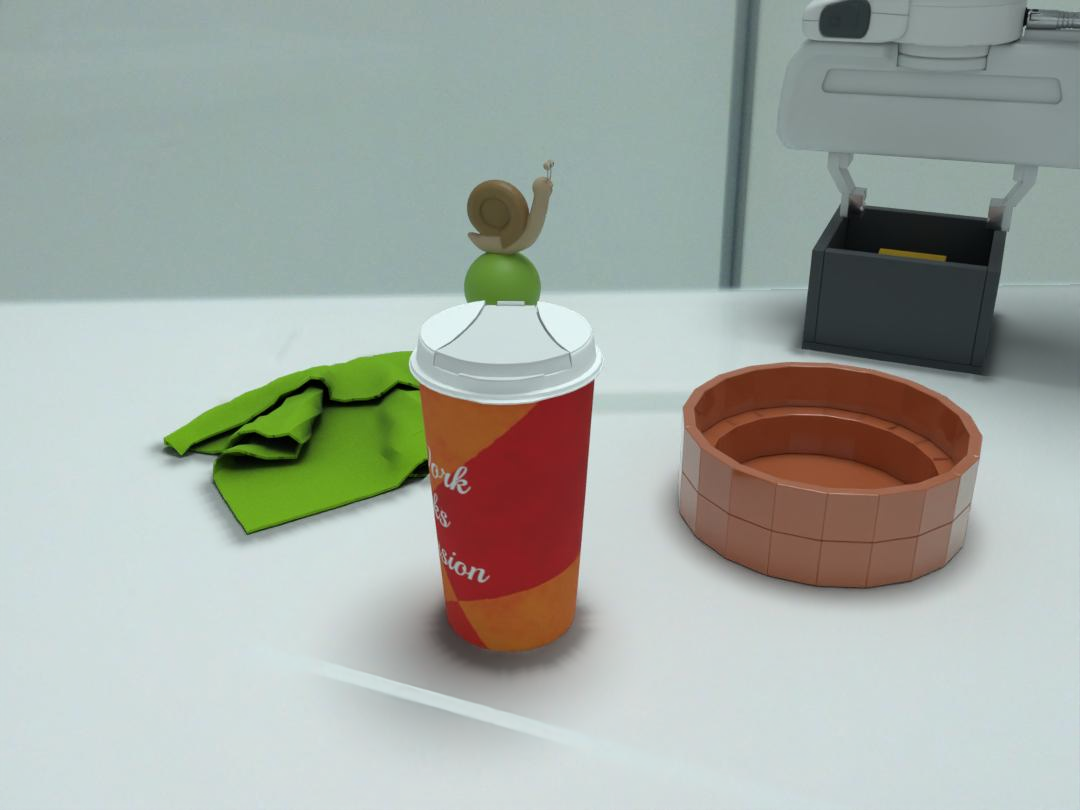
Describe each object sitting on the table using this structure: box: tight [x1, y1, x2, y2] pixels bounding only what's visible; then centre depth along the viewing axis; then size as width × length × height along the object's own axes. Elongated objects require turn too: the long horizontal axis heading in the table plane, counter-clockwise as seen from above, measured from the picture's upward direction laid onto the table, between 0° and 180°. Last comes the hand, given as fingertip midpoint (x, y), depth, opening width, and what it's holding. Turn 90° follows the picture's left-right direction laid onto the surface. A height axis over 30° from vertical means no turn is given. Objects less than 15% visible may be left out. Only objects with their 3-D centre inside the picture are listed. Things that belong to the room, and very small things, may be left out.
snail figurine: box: [463, 159, 555, 308], centre depth 80 cm, size 5×6×12 cm
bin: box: [801, 203, 1008, 376], centre depth 80 cm, size 12×12×7 cm
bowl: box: [677, 361, 984, 588], centre depth 58 cm, size 14×14×6 cm
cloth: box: [163, 350, 430, 534], centre depth 67 cm, size 20×22×2 cm
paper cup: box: [409, 300, 605, 652], centre depth 48 cm, size 8×8×14 cm
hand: (923, 222), depth 78 cm, fingers open, 8 cm apart
